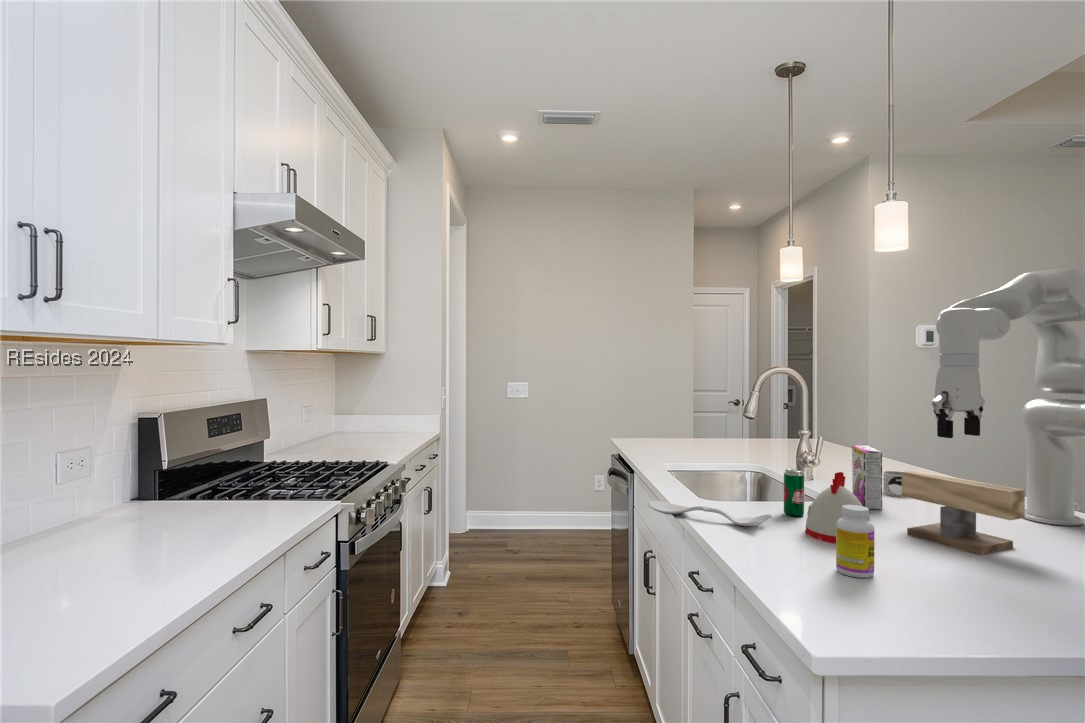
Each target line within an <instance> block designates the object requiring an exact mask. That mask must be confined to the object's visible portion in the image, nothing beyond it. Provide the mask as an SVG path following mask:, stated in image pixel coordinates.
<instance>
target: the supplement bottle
mask: <svg viewBox="0 0 1085 723" xmlns="http://www.w3.org/2000/svg"><path fill="white" fill-rule="evenodd" d="M842 514H843V518H840V519H839V520H838V521H837V523H836V543H835V545H836V548H835V554H836V555H835V568H836V570H837V571H838V572H839V573H840V574H842V575H843V576H844V575H845V576H848V577H852V578H857V579H858V578H859V579H868V578H871V577H872V576H874V574H875V526H874V523H872V522H871V520H870V521H868V518H867V517H868V515H869V516H870V509H868V508H866V507H863V506H858V505H843V506H842Z"/></svg>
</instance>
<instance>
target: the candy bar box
mask: <svg viewBox="0 0 1085 723" xmlns="http://www.w3.org/2000/svg"><path fill="white" fill-rule="evenodd" d="M851 448H852V449H851V452H852V454H851V456H852V459H851V460H852V461H851V462H852V464H851V465H852V468H851V469H852V470H851V471H852V474H851V475H852V493H853V494H854V495H855V496H856V497H857V499H858V500H859V501H860V503H861V504H862V506H863V507H866V508H868V509H869V510H875V509H878V510H883V452H882V451H881V450H878V449H876V448H874V447H872V446H870V445H862V444H861V445H858V444H857V445H855V444H854V445H851Z"/></svg>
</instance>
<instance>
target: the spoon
mask: <svg viewBox="0 0 1085 723" xmlns="http://www.w3.org/2000/svg"><path fill="white" fill-rule="evenodd" d="M647 507H649V508H650V509H652V510H653V511H656V512H658V513H661V514H665V515H669V516H670V515H671V516H672V515H680V514H684V513H688V512H694V511H703V512H709V513H715V514H719V515H720V516H723V517H725V518H726V519H727V520H729V521H730V522H732V523H733V524H735V525H738V526H741V527H753V526H760V525H761V524H764V523H765V522H767V521H768V520H769V519H771V518H772V515H771V514H770V513H768V514H762V515H758V516H749V517H747V516H746V517H745V516H744V517H736V516H733V515H731V514H730V513H728V512H726V511H724V510H722V509H719V508H716V507H715V508H714V507H709V506H701V505H697V506H696V505H695V506H685V505H679V504H675V503H671V502H666V501H661V500H649V501H648V503H647Z"/></svg>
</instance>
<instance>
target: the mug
mask: <svg viewBox="0 0 1085 723" xmlns="http://www.w3.org/2000/svg"><path fill="white" fill-rule="evenodd" d="M902 472H903V471H897V470H896V471H895V470H886V471H882V494H884V493H885V494H884V495H886V494H888V495H887V496H889V495H892V496H891V497H897V496H902Z"/></svg>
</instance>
